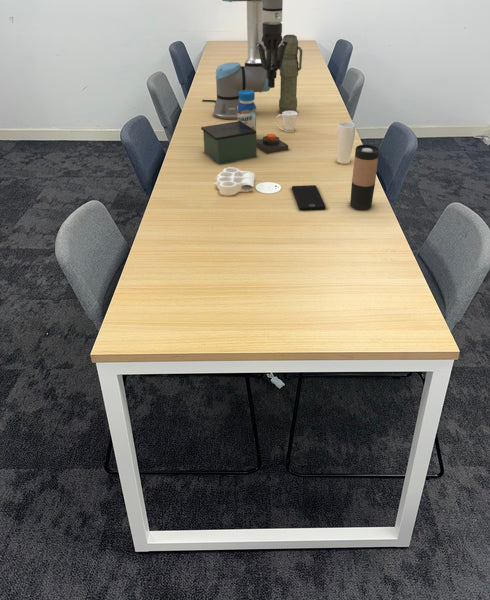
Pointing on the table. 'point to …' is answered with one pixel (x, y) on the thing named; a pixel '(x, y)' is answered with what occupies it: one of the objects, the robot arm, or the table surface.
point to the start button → (271, 137)
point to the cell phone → (308, 197)
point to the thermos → (289, 74)
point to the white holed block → (234, 181)
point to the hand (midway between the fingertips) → (271, 86)
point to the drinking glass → (345, 141)
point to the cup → (288, 120)
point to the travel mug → (364, 176)
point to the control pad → (271, 145)
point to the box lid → (228, 130)
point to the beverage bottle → (247, 108)
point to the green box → (230, 148)
